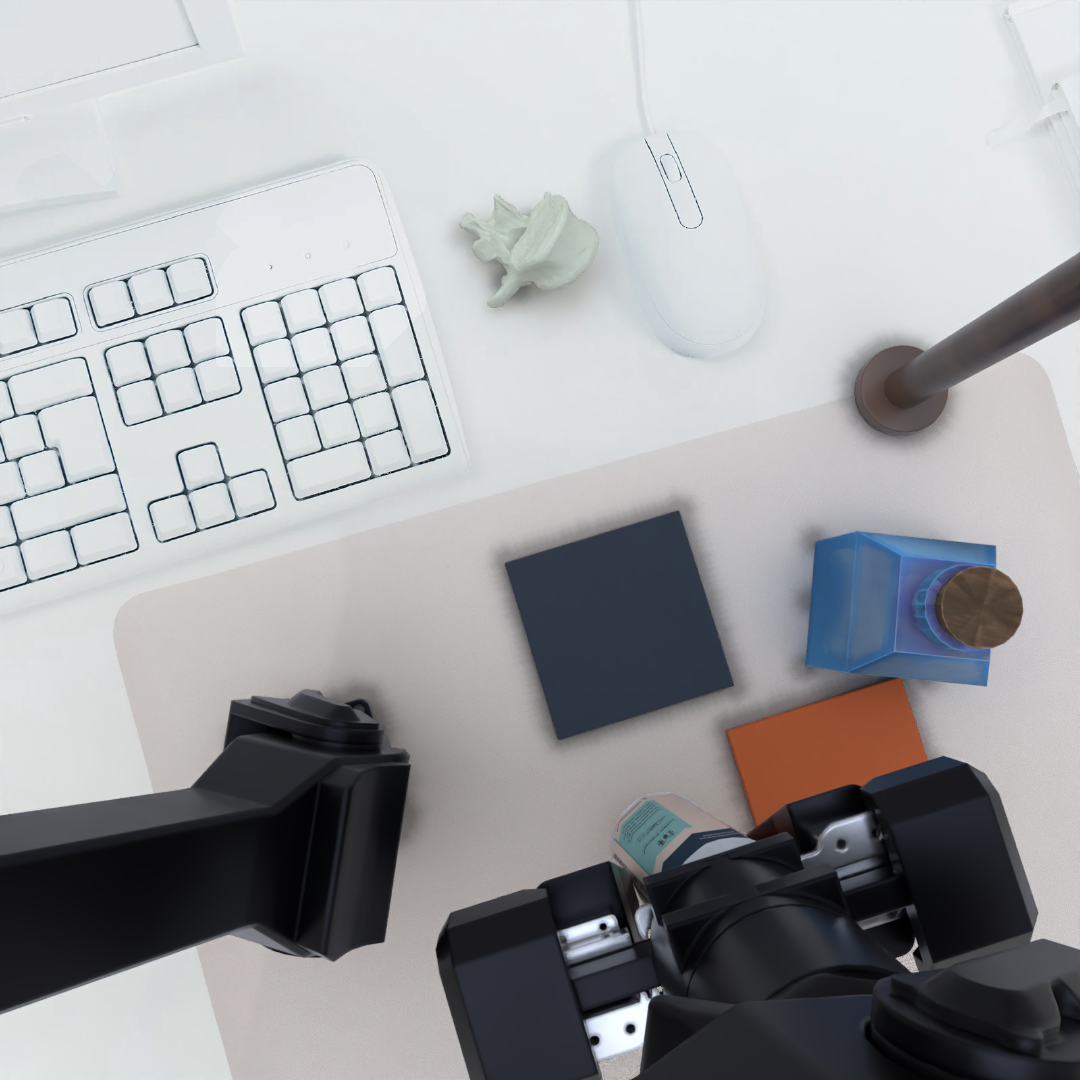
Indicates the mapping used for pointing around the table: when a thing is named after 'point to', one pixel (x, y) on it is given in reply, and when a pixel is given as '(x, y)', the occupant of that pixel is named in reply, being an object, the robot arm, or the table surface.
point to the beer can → (667, 837)
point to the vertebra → (533, 245)
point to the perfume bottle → (909, 607)
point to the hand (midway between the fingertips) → (689, 868)
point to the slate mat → (618, 624)
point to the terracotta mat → (826, 746)
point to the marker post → (963, 353)
